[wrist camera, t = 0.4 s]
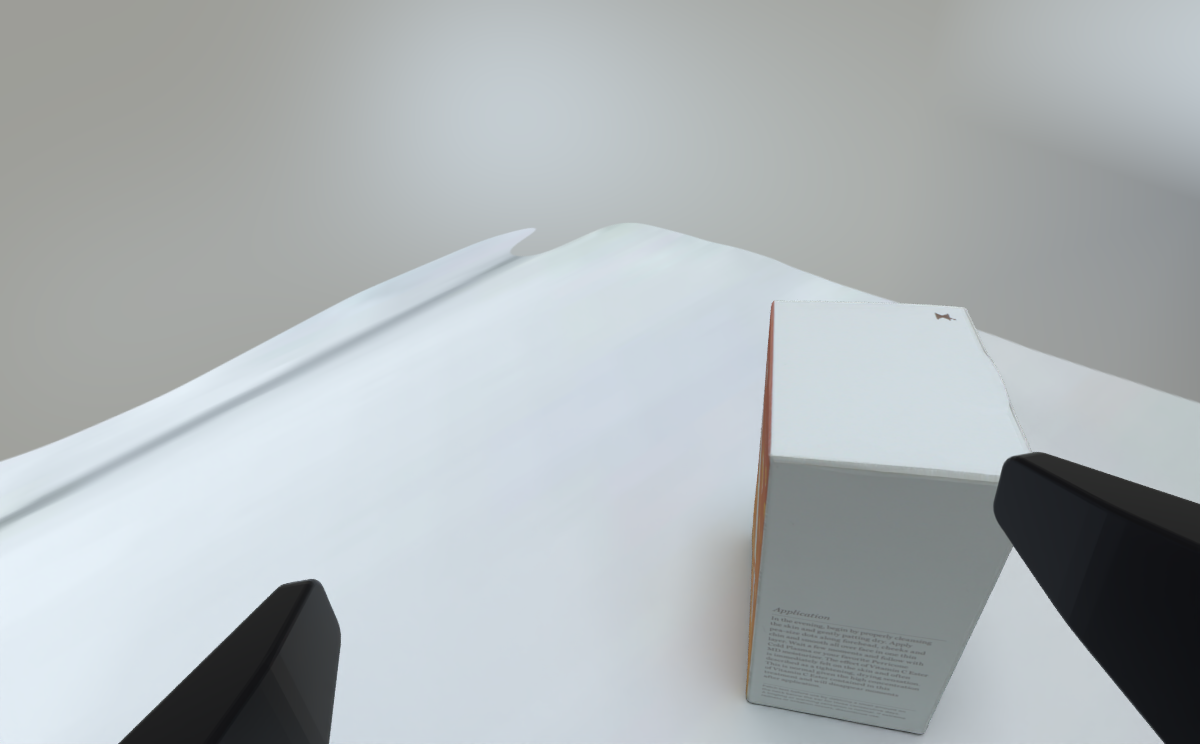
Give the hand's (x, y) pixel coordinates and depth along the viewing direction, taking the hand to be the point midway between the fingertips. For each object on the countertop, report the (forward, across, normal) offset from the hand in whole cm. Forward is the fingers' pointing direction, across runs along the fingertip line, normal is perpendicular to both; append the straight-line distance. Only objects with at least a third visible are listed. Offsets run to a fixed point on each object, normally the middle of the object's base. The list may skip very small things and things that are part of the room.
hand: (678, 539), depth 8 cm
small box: (+11, -8, +16) cm, 21 cm away
